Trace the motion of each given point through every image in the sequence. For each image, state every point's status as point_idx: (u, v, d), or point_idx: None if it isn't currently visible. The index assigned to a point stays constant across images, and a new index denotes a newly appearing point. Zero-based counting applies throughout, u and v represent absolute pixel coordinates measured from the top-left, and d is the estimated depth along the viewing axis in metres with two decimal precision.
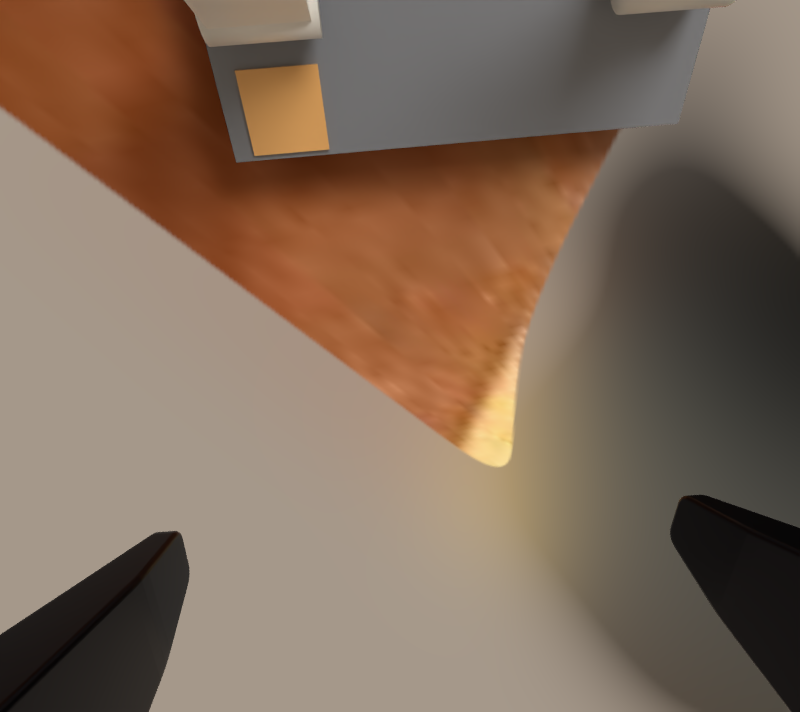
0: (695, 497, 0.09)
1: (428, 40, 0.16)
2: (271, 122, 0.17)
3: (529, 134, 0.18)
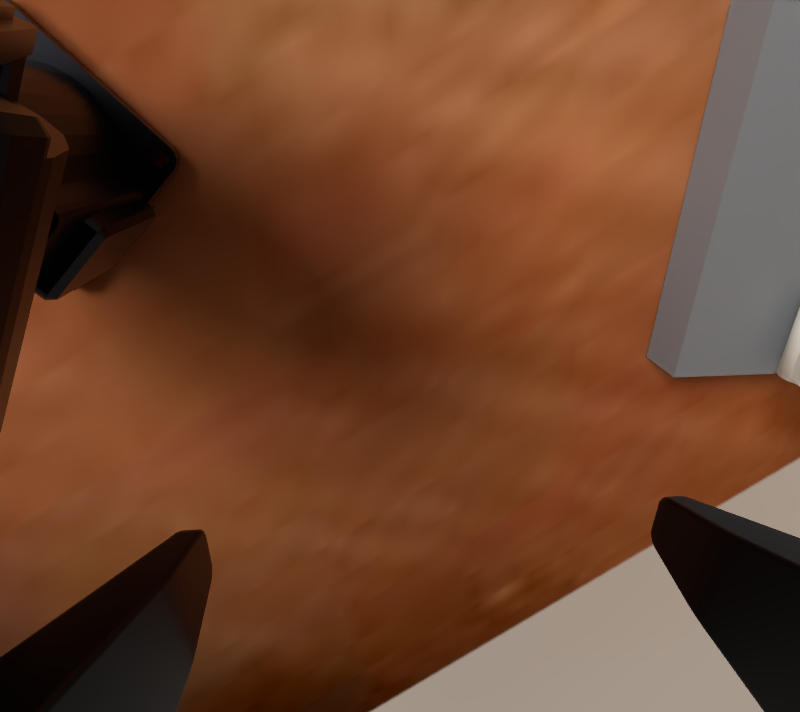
0: (675, 498, 0.09)
1: None
2: None
3: None
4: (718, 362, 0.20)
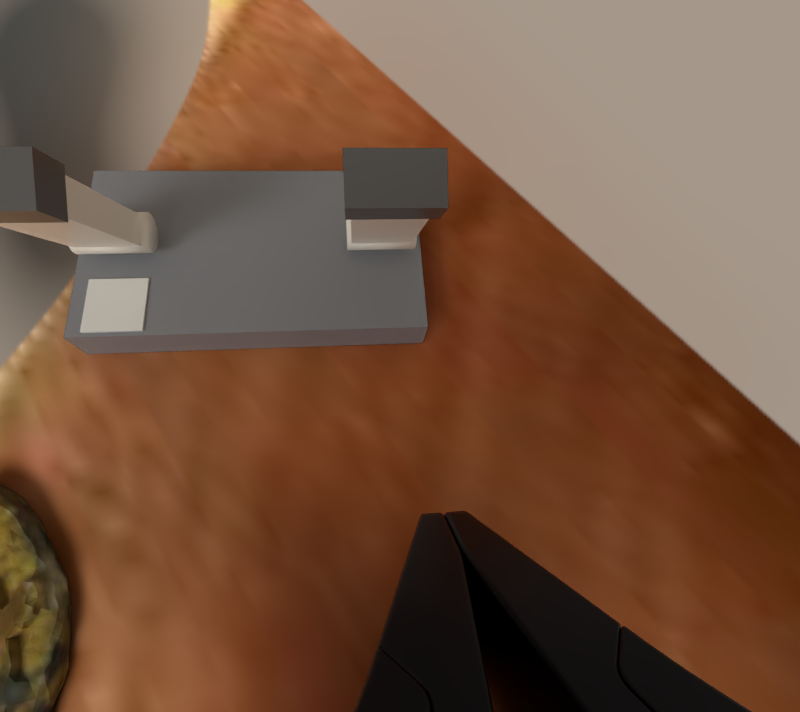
0: (452, 514, 0.08)
1: (279, 222, 0.24)
2: None
3: (208, 172, 0.25)
4: (412, 293, 0.24)
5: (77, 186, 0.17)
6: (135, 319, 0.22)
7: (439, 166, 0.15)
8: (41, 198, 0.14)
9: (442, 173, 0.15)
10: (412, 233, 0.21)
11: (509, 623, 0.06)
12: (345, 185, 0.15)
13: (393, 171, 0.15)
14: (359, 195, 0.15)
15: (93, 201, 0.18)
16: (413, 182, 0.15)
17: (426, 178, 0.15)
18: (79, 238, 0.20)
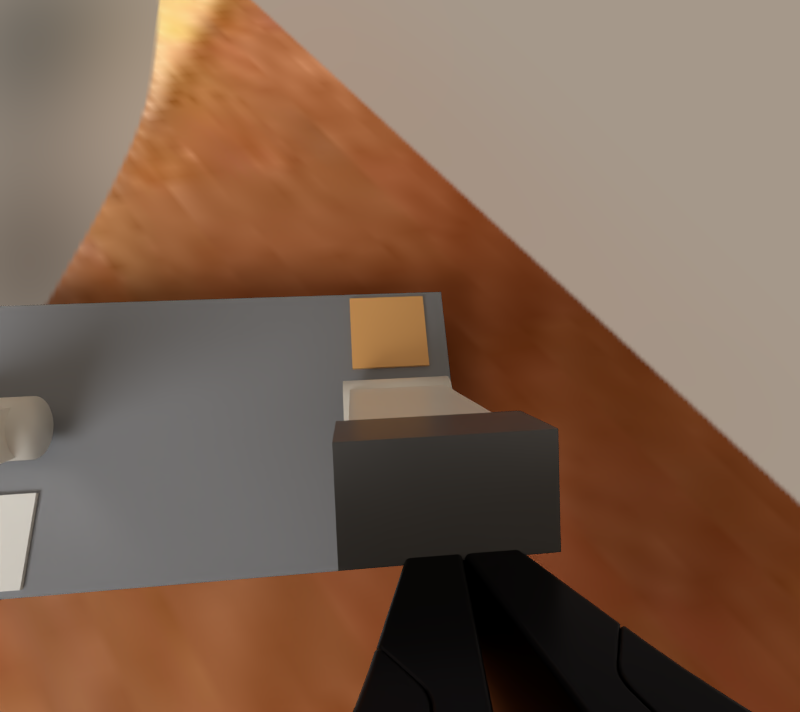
0: None
1: (243, 385, 0.16)
2: (402, 324, 0.17)
3: (138, 303, 0.17)
4: None
5: None
6: (9, 569, 0.14)
7: (542, 468, 0.07)
8: None
9: (548, 481, 0.07)
10: None
11: (509, 623, 0.06)
12: (339, 521, 0.07)
13: (444, 484, 0.07)
14: (370, 540, 0.07)
15: None
16: (486, 504, 0.07)
17: (514, 494, 0.07)
18: None
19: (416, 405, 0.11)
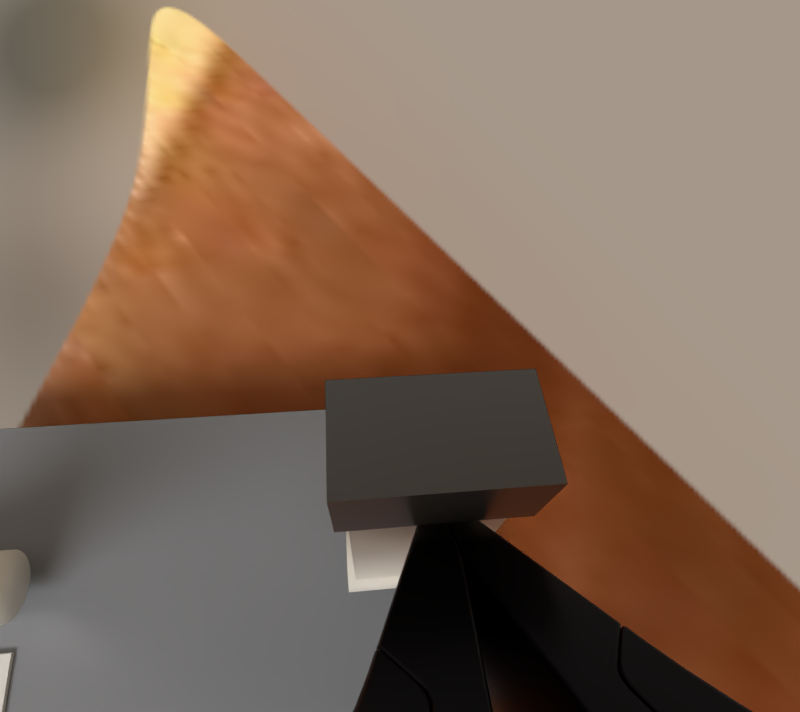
0: None
1: (238, 517, 0.15)
2: None
3: (124, 423, 0.16)
4: None
5: None
6: None
7: (528, 401, 0.07)
8: None
9: (537, 414, 0.07)
10: None
11: (509, 623, 0.06)
12: (329, 451, 0.07)
13: (434, 416, 0.07)
14: (361, 470, 0.07)
15: None
16: (479, 435, 0.07)
17: (504, 425, 0.07)
18: None
19: None
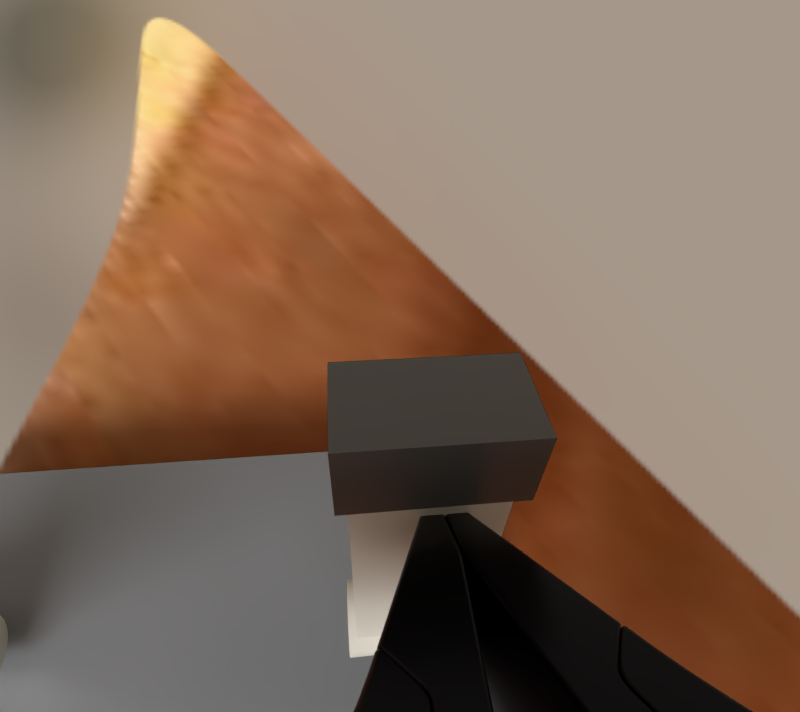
0: (453, 514, 0.08)
1: (231, 571, 0.14)
2: None
3: (110, 468, 0.15)
4: None
5: None
6: None
7: (515, 376, 0.08)
8: None
9: (524, 386, 0.08)
10: None
11: (510, 623, 0.06)
12: (331, 414, 0.07)
13: (427, 387, 0.08)
14: (360, 429, 0.07)
15: None
16: (470, 402, 0.07)
17: (494, 393, 0.08)
18: None
19: None
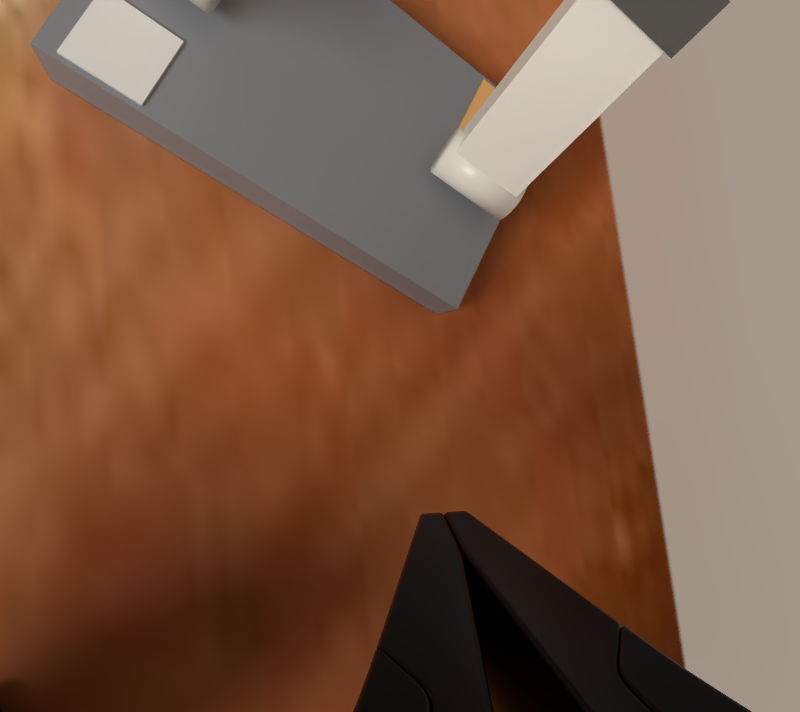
0: (452, 514, 0.08)
1: (375, 83, 0.18)
2: None
3: None
4: (463, 263, 0.20)
5: None
6: (139, 84, 0.16)
7: None
8: None
9: None
10: (557, 146, 0.16)
11: (508, 623, 0.06)
12: None
13: None
14: None
15: None
16: None
17: None
18: None
19: None
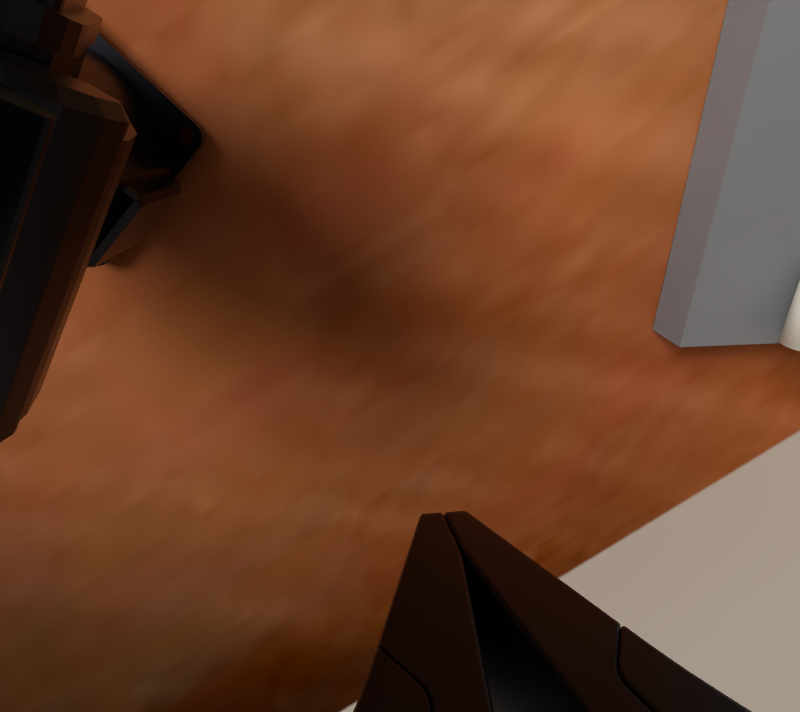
0: (452, 514, 0.08)
1: None
2: None
3: None
4: (722, 332, 0.21)
5: None
6: None
7: None
8: None
9: None
10: None
11: (509, 623, 0.06)
12: None
13: None
14: None
15: None
16: None
17: None
18: None
19: None
